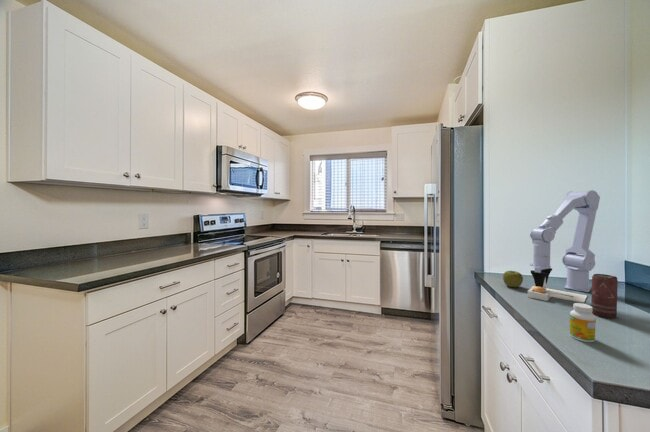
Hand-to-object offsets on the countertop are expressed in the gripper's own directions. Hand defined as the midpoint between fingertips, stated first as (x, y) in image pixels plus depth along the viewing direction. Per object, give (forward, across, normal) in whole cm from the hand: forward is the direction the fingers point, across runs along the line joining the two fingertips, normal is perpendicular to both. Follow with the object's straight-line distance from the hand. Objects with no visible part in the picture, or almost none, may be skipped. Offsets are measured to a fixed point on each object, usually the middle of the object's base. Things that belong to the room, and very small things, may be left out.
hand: (541, 285), depth 117 cm
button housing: (+3, +9, +1) cm, 9 cm away
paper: (+3, 0, +5) cm, 6 cm away
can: (+3, +15, +20) cm, 25 cm away
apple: (+3, +1, -10) cm, 11 cm away
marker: (+2, 0, 0) cm, 2 cm away
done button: (+1, +9, +1) cm, 9 cm away
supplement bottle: (+3, +41, +17) cm, 44 cm away
